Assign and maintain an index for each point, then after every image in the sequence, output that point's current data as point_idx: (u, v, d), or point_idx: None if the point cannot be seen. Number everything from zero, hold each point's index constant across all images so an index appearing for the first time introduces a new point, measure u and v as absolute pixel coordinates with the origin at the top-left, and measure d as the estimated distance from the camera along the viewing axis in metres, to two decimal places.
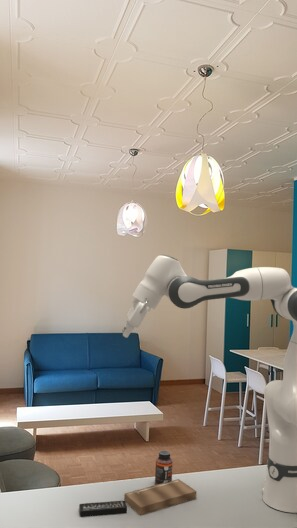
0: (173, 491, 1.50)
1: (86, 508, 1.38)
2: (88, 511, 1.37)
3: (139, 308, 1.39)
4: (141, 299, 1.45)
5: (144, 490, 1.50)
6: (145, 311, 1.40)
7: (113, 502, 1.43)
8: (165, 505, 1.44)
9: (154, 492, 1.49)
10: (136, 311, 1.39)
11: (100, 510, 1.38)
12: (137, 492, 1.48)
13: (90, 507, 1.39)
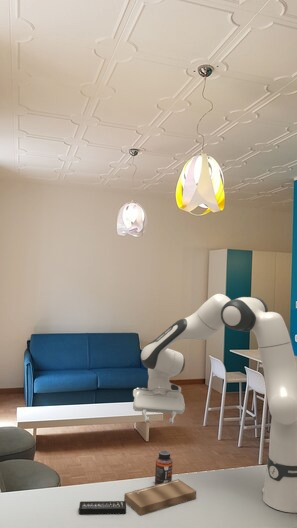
0: (173, 491, 1.50)
1: (85, 506, 1.40)
2: (87, 509, 1.38)
3: None
4: None
5: (144, 490, 1.50)
6: (135, 394, 1.77)
7: (113, 502, 1.43)
8: (165, 505, 1.44)
9: (154, 492, 1.49)
10: None
11: (99, 509, 1.39)
12: (137, 492, 1.48)
13: (89, 505, 1.40)
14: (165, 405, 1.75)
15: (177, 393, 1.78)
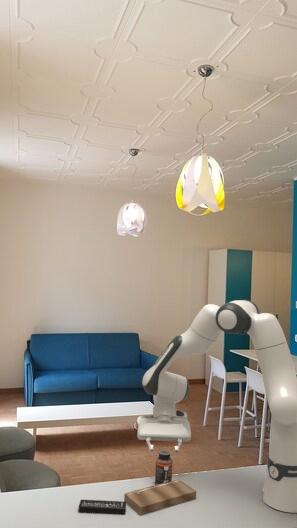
0: (173, 491, 1.50)
1: (85, 504, 1.41)
2: (86, 508, 1.39)
3: None
4: None
5: (144, 490, 1.50)
6: (139, 421, 1.72)
7: (114, 502, 1.43)
8: (165, 505, 1.44)
9: (154, 492, 1.49)
10: None
11: (98, 508, 1.39)
12: (137, 492, 1.48)
13: (89, 504, 1.41)
14: (170, 432, 1.68)
15: (183, 420, 1.71)
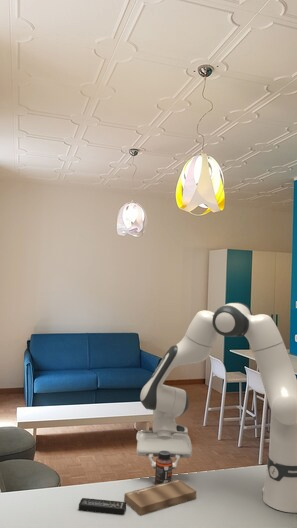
0: (173, 491, 1.50)
1: (85, 503, 1.42)
2: (86, 506, 1.40)
3: None
4: None
5: (144, 490, 1.50)
6: (138, 437, 1.66)
7: (114, 502, 1.43)
8: (165, 505, 1.44)
9: (154, 492, 1.49)
10: None
11: (97, 507, 1.40)
12: (137, 492, 1.48)
13: (89, 503, 1.42)
14: (170, 448, 1.63)
15: (184, 435, 1.66)
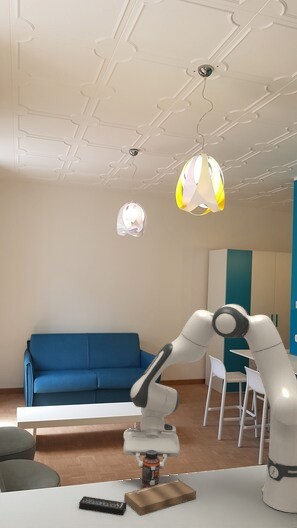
0: (173, 491, 1.50)
1: (85, 501, 1.42)
2: (86, 504, 1.41)
3: None
4: None
5: (144, 490, 1.50)
6: (125, 436, 1.64)
7: (114, 502, 1.43)
8: (165, 505, 1.44)
9: (154, 492, 1.49)
10: None
11: (97, 506, 1.40)
12: (137, 492, 1.48)
13: (90, 501, 1.43)
14: (157, 447, 1.60)
15: (172, 434, 1.63)
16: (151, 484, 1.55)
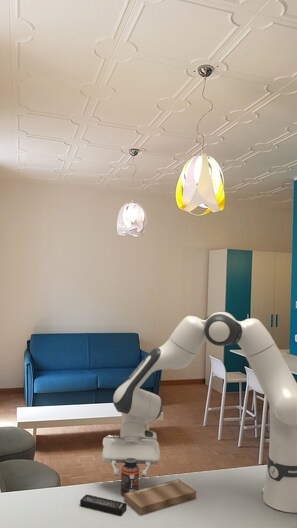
0: (173, 491, 1.50)
1: (86, 499, 1.44)
2: (86, 502, 1.42)
3: None
4: None
5: (144, 490, 1.50)
6: (105, 443, 1.59)
7: (114, 502, 1.43)
8: (165, 505, 1.44)
9: (154, 492, 1.49)
10: None
11: (97, 505, 1.41)
12: (137, 492, 1.48)
13: (91, 500, 1.44)
14: (137, 455, 1.55)
15: (152, 441, 1.58)
16: None
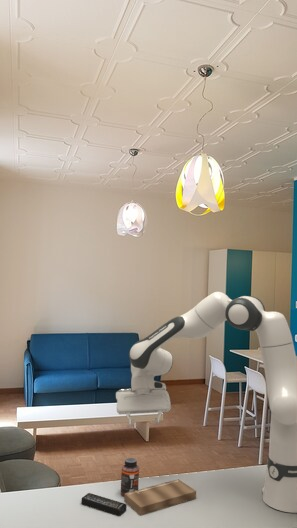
0: (173, 491, 1.50)
1: (88, 498, 1.45)
2: (87, 501, 1.43)
3: None
4: None
5: (144, 490, 1.50)
6: (118, 397, 1.70)
7: (115, 502, 1.43)
8: (165, 505, 1.44)
9: (154, 492, 1.49)
10: None
11: (97, 504, 1.42)
12: (137, 492, 1.48)
13: (92, 498, 1.45)
14: (149, 405, 1.67)
15: (162, 391, 1.69)
16: None
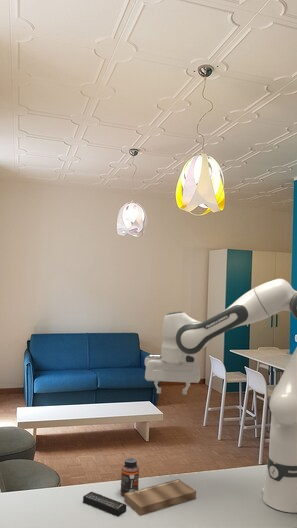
0: (173, 491, 1.50)
1: (89, 496, 1.46)
2: (88, 499, 1.44)
3: None
4: None
5: (144, 490, 1.50)
6: (147, 364, 1.64)
7: (115, 502, 1.43)
8: (165, 505, 1.44)
9: (154, 492, 1.49)
10: None
11: (97, 503, 1.42)
12: (137, 492, 1.48)
13: (93, 497, 1.45)
14: (178, 377, 1.63)
15: (193, 365, 1.63)
16: None
